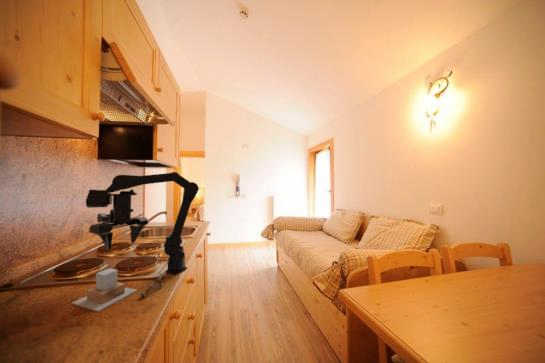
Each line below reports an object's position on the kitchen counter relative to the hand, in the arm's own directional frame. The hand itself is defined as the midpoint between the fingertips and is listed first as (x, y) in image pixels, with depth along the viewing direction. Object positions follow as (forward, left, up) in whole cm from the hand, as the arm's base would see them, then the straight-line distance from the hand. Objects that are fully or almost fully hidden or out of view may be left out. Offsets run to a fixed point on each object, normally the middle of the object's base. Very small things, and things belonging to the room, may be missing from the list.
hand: (121, 246), depth 78 cm
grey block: (+10, +8, -10) cm, 16 cm away
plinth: (+10, +8, -13) cm, 18 cm away
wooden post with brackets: (+2, +19, -13) cm, 23 cm away
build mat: (+10, +8, -13) cm, 18 cm away
